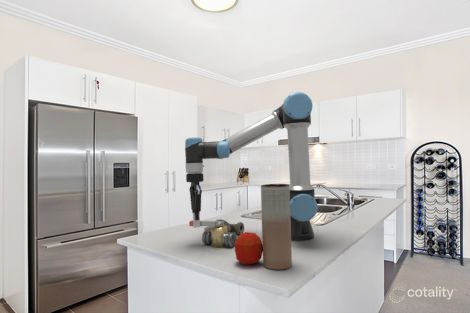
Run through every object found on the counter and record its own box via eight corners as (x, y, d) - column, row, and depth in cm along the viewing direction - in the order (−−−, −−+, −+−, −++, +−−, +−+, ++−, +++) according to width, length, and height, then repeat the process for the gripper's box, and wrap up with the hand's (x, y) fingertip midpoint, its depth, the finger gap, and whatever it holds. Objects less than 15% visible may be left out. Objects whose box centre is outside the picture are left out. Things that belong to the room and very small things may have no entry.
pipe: (221, 249, 149) (205, 240, 138) (216, 234, 155) (201, 224, 144) (248, 233, 146) (233, 223, 136) (242, 219, 152) (228, 207, 142)
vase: (259, 268, 99) (257, 186, 99) (267, 259, 108) (264, 183, 109) (289, 271, 95) (286, 186, 96) (294, 261, 105) (291, 183, 105)
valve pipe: (237, 245, 128) (236, 226, 128) (229, 249, 121) (229, 230, 121) (210, 241, 134) (209, 224, 134) (201, 245, 128) (201, 227, 128)
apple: (241, 270, 98) (240, 235, 98) (230, 261, 107) (229, 229, 107) (268, 265, 102) (267, 231, 102) (255, 256, 111) (254, 226, 112)
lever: (224, 225, 129) (224, 220, 129) (222, 227, 125) (221, 222, 125) (192, 224, 133) (192, 220, 133) (188, 226, 129) (188, 221, 129)
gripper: (206, 172, 124) (209, 228, 123) (199, 172, 136) (201, 223, 135) (189, 173, 121) (191, 230, 120) (183, 173, 133) (185, 225, 132)
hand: (196, 227), depth 128 cm, fingers closed
